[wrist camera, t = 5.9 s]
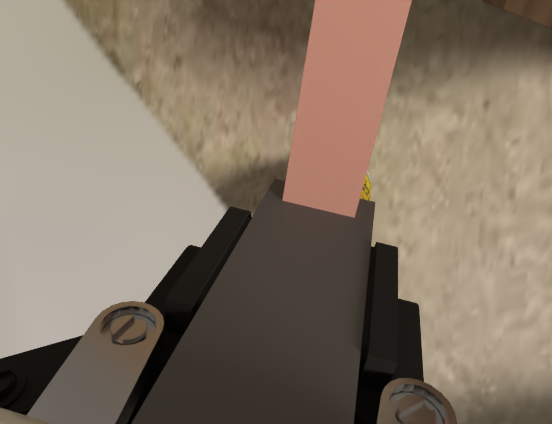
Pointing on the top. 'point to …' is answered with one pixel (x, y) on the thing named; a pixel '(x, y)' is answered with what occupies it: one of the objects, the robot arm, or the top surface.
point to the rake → (297, 251)
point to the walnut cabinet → (527, 9)
